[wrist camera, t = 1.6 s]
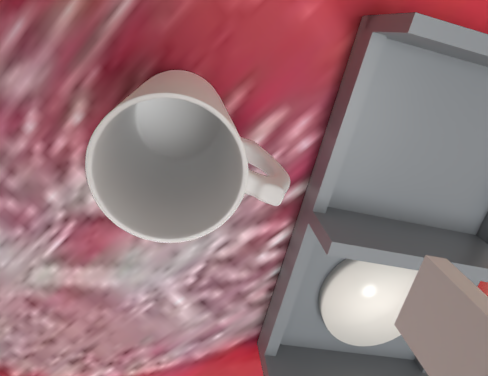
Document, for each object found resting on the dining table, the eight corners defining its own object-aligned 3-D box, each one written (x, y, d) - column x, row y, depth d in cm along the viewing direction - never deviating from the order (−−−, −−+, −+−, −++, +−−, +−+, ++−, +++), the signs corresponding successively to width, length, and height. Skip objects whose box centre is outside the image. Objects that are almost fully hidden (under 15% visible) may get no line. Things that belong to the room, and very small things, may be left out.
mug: (117, 144, 28) (68, 219, 17) (144, 49, 26) (107, 66, 15) (250, 186, 31) (281, 276, 20) (284, 102, 29) (340, 150, 18)
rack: (257, 342, 36) (270, 410, 30) (362, 15, 27) (415, 12, 21) (413, 361, 39) (456, 426, 33) (557, 73, 30) (656, 85, 24)
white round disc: (305, 330, 35) (308, 340, 34) (338, 240, 32) (343, 248, 31) (397, 341, 37) (403, 351, 36) (436, 258, 34) (444, 265, 33)
